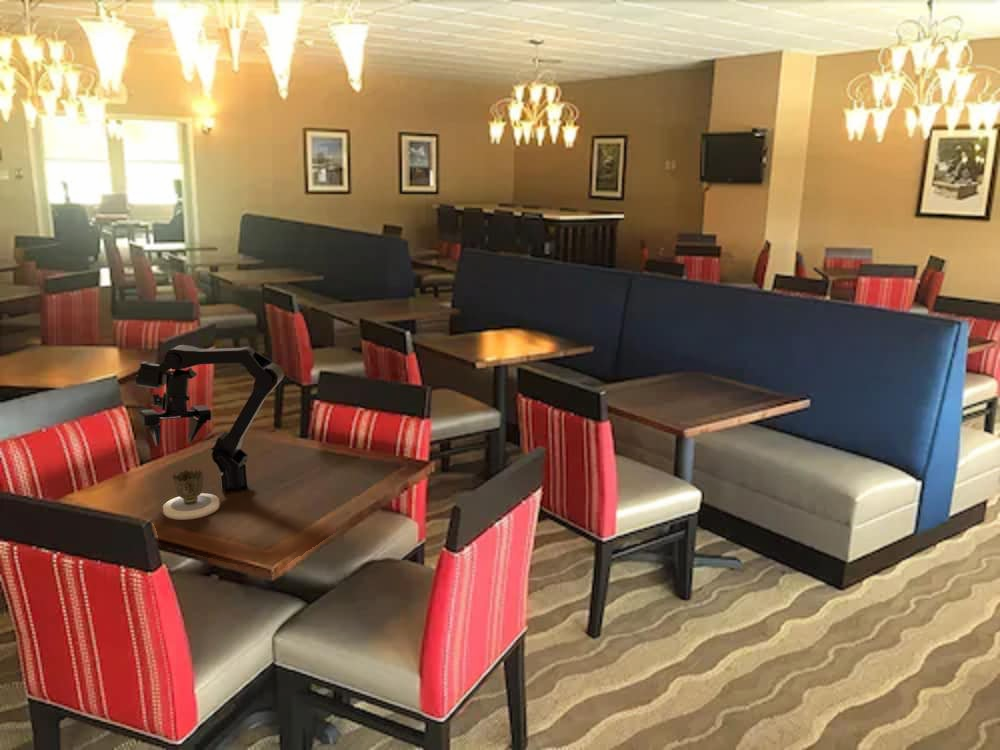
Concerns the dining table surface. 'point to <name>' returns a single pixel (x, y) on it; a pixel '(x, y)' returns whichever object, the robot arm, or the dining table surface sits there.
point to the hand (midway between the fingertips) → (173, 444)
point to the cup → (189, 485)
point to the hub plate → (191, 507)
